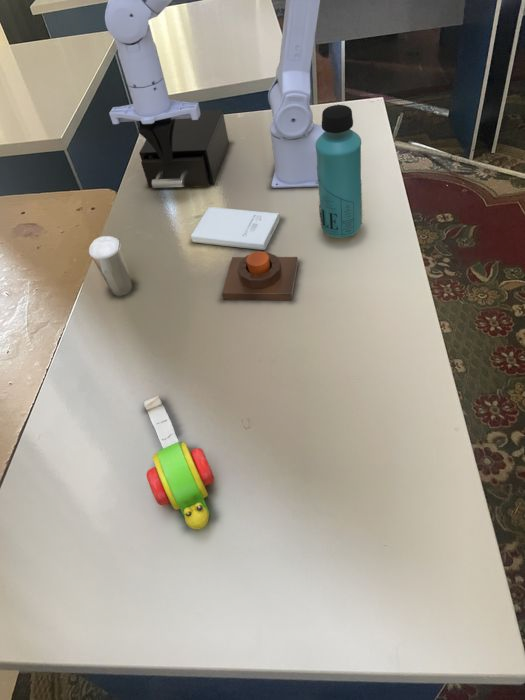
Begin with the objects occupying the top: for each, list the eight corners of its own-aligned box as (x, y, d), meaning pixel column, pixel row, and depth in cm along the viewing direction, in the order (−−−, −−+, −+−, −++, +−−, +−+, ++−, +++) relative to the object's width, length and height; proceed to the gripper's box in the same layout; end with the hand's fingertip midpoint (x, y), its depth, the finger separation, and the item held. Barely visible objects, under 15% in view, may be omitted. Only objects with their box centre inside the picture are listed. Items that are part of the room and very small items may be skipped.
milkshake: (135, 300, 84) (114, 247, 77) (103, 298, 86) (78, 246, 78) (146, 280, 87) (125, 226, 80) (114, 278, 89) (91, 226, 81)
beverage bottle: (368, 224, 89) (369, 99, 74) (354, 250, 86) (352, 124, 71) (329, 218, 92) (322, 95, 77) (314, 243, 88) (304, 119, 73)
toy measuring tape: (176, 551, 58) (159, 523, 53) (129, 413, 71) (112, 380, 66) (233, 523, 59) (222, 494, 54) (178, 393, 72) (164, 359, 67)
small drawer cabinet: (214, 184, 103) (206, 149, 98) (149, 186, 105) (138, 152, 100) (229, 143, 112) (222, 109, 107) (169, 146, 114) (160, 113, 109)
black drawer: (202, 200, 98) (195, 174, 94) (141, 202, 100) (133, 176, 97) (222, 147, 110) (217, 121, 106) (168, 149, 112) (161, 124, 108)
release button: (271, 260, 82) (270, 251, 81) (268, 275, 80) (267, 265, 79) (250, 260, 83) (248, 251, 82) (246, 275, 81) (244, 265, 80)
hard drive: (211, 213, 97) (280, 219, 93) (192, 243, 92) (264, 251, 88) (209, 205, 96) (279, 211, 92) (190, 235, 91) (263, 243, 87)
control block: (298, 263, 85) (296, 247, 83) (291, 300, 80) (289, 284, 78) (233, 263, 87) (230, 248, 85) (223, 299, 82) (219, 284, 80)
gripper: (92, 94, 86) (120, 174, 96) (184, 88, 83) (203, 171, 93) (108, 74, 90) (133, 152, 100) (195, 67, 87) (212, 149, 97)
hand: (167, 160), depth 97 cm, fingers closed
